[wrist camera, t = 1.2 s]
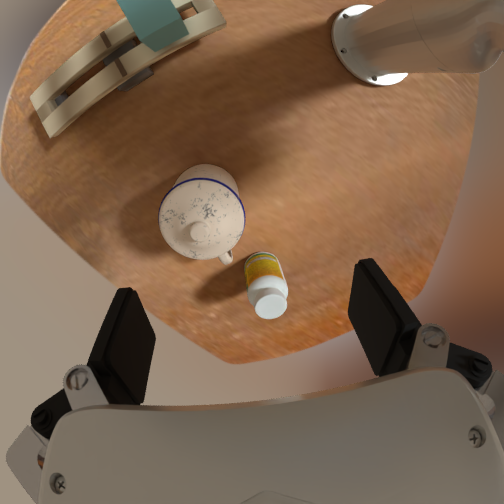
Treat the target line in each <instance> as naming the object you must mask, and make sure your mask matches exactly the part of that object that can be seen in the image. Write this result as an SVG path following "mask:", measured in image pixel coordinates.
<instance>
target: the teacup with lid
mask: <svg viewBox="0 0 504 504" xmlns="http://www.w3.org/2000/svg"><path fill="white" fill-rule="evenodd" d="M158 222H159V227H160V231H161V233H162V236H163V238H164V239H165V241H166V242H167V243H168V245H169V246H170V247H171V248H172V249H174V250H175V251H176V252H178V253H179V254H181V255H183V256H186V257H188V258H192V259H199V260H205V259H212V258H216V257H218V258H219V260H220V261H221V262H222V263H223V264H225V265H226V264H229V263H231V262H232V260H233V256H232V251H231V249H232V248H233V247H234V246H235V244H236V243H237V242H238V241H239V239H240V237H241V235H242V233H243V230H244V227H245V211H244V207H243V204H242V202H241V200H240V197H239V192H238V187H237V184H236V182H235V180H234V179H233V177H232V176H231V175H230V174H229V173H228V172H227V171H226V170H224V169H223V168H221V167H218V166H215V165H211V164H200V165H196V166H193V167H191V168H189V169H187V170H186V171H184V172H183V173H182V174H181V175H180V176H179V178H178V179H177V181H176V182H175V184H174V186H173V187H172V189H171V190H170V191H169V192H168V193H167V194H166V195H165V197H164V198H163V200H162V202H161V205H160V208H159V214H158Z"/></svg>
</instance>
